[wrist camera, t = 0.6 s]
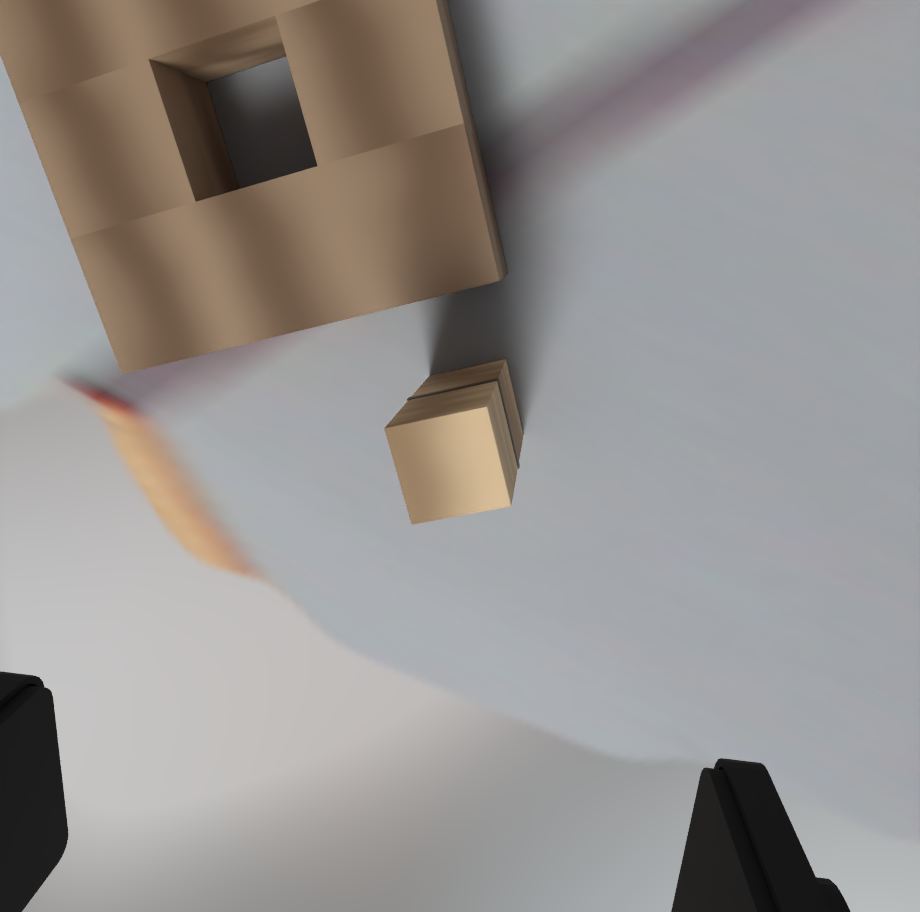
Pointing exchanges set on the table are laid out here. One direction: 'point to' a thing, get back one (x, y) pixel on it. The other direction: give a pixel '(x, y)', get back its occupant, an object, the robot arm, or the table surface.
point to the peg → (458, 443)
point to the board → (264, 204)
